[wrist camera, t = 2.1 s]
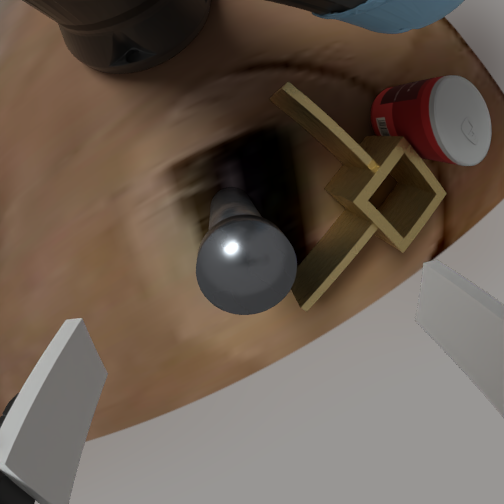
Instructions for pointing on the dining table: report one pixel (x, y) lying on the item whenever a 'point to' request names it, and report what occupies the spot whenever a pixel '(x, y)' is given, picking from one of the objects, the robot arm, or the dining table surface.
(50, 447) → the robot arm
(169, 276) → the dining table surface
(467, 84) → the canned food
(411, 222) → the hinge
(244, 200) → the pin
